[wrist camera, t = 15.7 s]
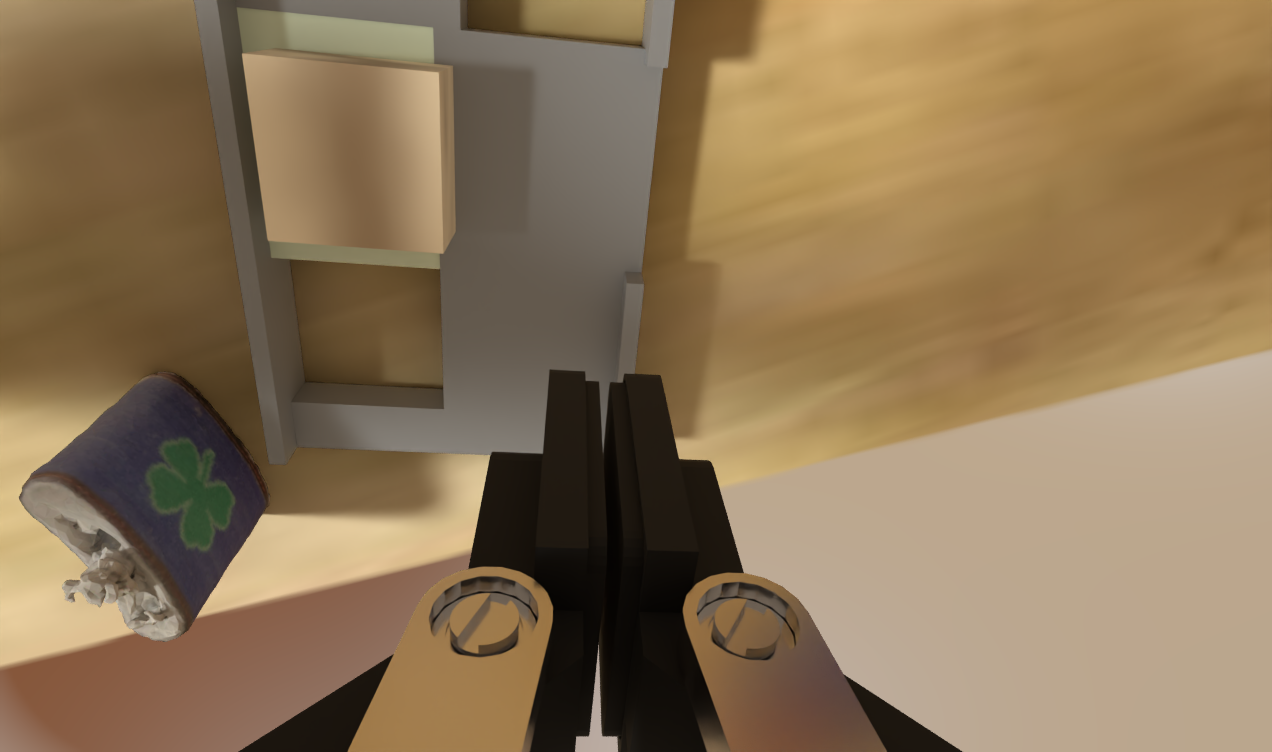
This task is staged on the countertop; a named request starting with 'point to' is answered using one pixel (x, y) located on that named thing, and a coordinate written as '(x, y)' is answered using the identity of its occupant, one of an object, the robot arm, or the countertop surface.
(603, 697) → the robot arm
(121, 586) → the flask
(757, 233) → the countertop surface
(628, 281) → the board
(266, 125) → the beech block
